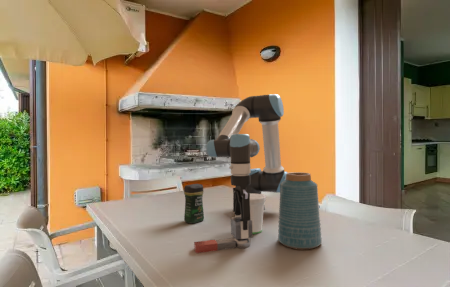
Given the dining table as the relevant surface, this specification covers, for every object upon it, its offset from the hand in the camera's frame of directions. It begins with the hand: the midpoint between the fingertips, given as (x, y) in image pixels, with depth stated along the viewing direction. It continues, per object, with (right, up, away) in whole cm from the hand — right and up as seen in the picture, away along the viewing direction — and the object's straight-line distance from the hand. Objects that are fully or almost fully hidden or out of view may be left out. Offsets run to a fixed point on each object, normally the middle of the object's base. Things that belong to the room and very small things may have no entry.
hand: (241, 234), depth 103 cm
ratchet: (-7, -4, -2) cm, 8 cm away
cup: (+6, -4, +16) cm, 18 cm away
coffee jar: (-22, -4, +32) cm, 39 cm away
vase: (+23, -4, +2) cm, 23 cm away
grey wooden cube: (0, 0, 0) cm, 0 cm away
